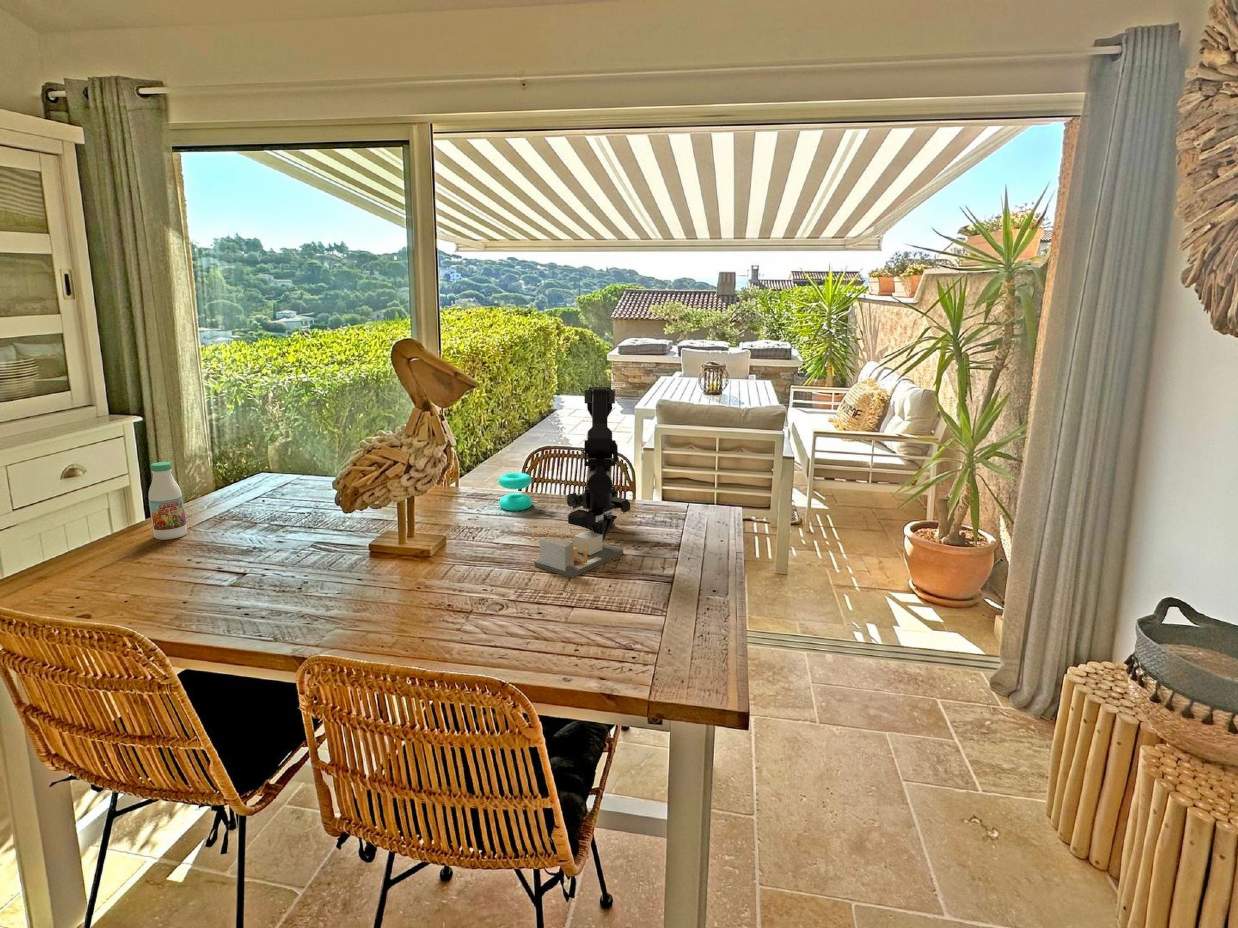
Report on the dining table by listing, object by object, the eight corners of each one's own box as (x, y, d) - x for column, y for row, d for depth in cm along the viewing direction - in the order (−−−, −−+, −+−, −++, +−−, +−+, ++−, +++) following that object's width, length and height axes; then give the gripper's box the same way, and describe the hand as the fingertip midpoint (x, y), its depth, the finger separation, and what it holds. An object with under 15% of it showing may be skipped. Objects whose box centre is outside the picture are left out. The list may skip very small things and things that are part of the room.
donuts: (531, 479, 217) (497, 480, 216) (532, 511, 219) (498, 512, 218) (531, 471, 226) (499, 471, 225) (532, 501, 229) (500, 502, 228)
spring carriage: (587, 545, 186) (587, 530, 185) (602, 549, 183) (602, 534, 182) (574, 550, 182) (574, 535, 181) (589, 555, 179) (589, 539, 178)
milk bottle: (147, 538, 194) (136, 465, 189) (174, 529, 201) (164, 458, 196) (167, 542, 191) (156, 468, 186) (194, 533, 198) (184, 461, 193)
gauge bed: (586, 543, 192) (586, 517, 190) (623, 553, 185) (623, 526, 183) (534, 566, 176) (533, 537, 175) (571, 577, 169) (571, 548, 168)
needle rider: (565, 555, 179) (565, 542, 178) (588, 562, 175) (588, 549, 174) (559, 558, 177) (559, 544, 176) (583, 565, 173) (583, 551, 172)
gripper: (598, 472, 194) (598, 527, 198) (550, 487, 180) (552, 546, 184) (631, 479, 188) (631, 536, 192) (585, 495, 173) (585, 556, 177)
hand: (600, 543), depth 186 cm, fingers closed
